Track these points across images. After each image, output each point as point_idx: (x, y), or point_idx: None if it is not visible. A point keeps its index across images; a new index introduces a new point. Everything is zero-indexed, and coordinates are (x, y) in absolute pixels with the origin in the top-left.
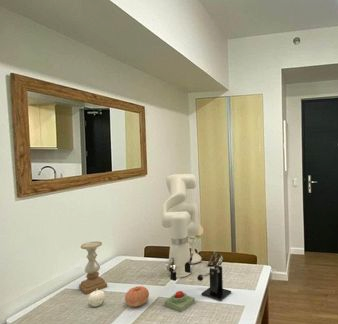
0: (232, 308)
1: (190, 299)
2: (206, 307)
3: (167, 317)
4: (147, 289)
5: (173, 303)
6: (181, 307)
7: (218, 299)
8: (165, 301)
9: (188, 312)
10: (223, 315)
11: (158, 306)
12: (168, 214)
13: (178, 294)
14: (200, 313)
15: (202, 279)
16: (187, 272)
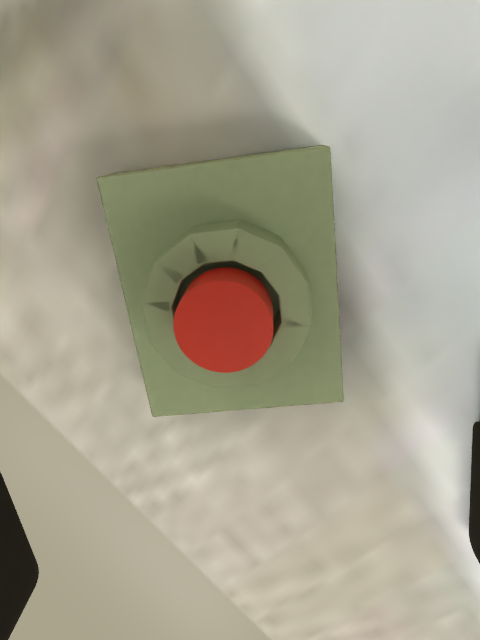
0: (427, 628)
1: (300, 388)
2: (335, 498)
3: (38, 362)
4: None
5: (140, 308)
6: (156, 415)
7: None
8: (102, 198)
9: (197, 440)
10: (324, 627)
11: (59, 133)
12: None
13: (191, 350)
14: (247, 512)
15: None
16: (471, 493)
